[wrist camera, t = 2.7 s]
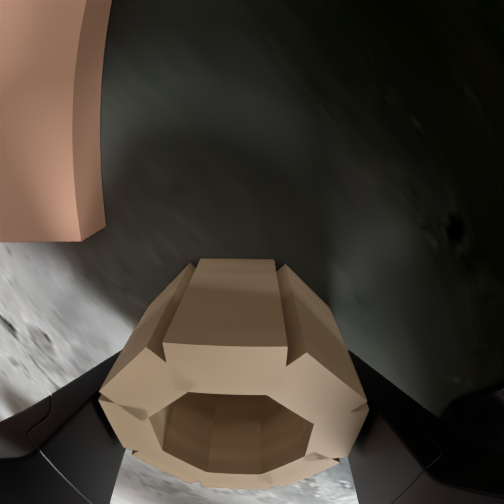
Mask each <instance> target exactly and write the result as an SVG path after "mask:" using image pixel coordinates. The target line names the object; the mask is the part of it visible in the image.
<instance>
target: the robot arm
mask: <svg viewBox="0 0 504 504" xmlns="http://www.w3.org/2000/svg"><path fill="white" fill-rule="evenodd" d="M122 350H123V349H122ZM122 350H121V351H122ZM121 351H119V352H118V353H116V354H114V355H113V356H111V357H110V358H108V359H107V360H105V361H103V362H102V363H100V364H99V365H97V366H96V367H94V368H92V369H91V370H89V371H88V372H86V373H84V374H83V375H81V376H80V377H78V378H77V379H75V380H73V381H72V382H70V383H69V384H67V385H65V386H64V387H62V388H61V389H59V390H57V391H56V392H54V393H53V394H52V396H51V395H49V396H48V397H46V398H45V399H43V400H41V401H40V402H38V403H36V404H34V405H33V406H31V407H29V408H27V409H25V410H23V411H21V412H19V413H17V414H15V415H13V416H11V417H9V418H7V419H5V420H3V421H1V422H0V504H110V500H111V496H112V493H113V489H114V486H115V482H116V479H117V475H118V472H119V469H120V465H121V462H122V459H123V456H124V452H125V449H126V448H124V447H123V446H122V444H121V442H120V440H119V439H118V437H117V435H116V433H115V431H114V430H113V428H112V426H111V424H110V422H109V420H108V418H107V416H106V414H105V412H104V410H103V408H102V406H101V404H100V402H99V398H100V396H101V394H102V393H100V392H99V390H100V389H101V387H102V385H103V383H104V381H105V380H106V378H107V376H108V374H109V372H110V371H111V369H112V367H113V365H114V364H115V362H116V360H117V358H118V357H119V355H120V353H121ZM347 351H348V353H349V355H350V358H351V360H352V363H353V365H354V368H355V370H356V373H357V376H358V378H359V381H360V383H361V386H362V388H363V391H364V394H365V396H366V399H367V405H368V408H369V412H368V414H367V416H366V419H365V421H364V423H363V425H362V428H361V430H360V432H359V434H358V436H357V438H356V440H355V442H354V445H353V447H352V449H351V451H350V453H349V455H348V460H349V464H350V468H351V472H352V476H353V481H354V485H355V489H356V493H357V498H358V502H359V504H504V383H503V384H500V385H498V386H495V387H493V388H490V389H488V390H485V391H482V392H480V393H477V394H474V395H471V396H468V397H465V398H462V399H459V400H457V401H456V402H454V403H453V404H452V405H451V406H450V407H449V409H448V410H447V412H446V414H445V415H444V417H443V418H442V420H441V419H439V418H438V417H436V416H435V415H434V414H432V413H431V412H430V411H428V410H427V409H426V408H423V407H422V406H421V405H420V404H419V403H417V402H416V401H415V400H413V399H412V398H411V397H410V396H408V395H407V394H406V393H404V392H403V391H402V390H400V389H399V388H398V387H396V386H395V385H394V384H393V383H391V382H390V381H389V380H387V379H386V378H385V377H383V376H382V375H381V374H380V373H378V372H377V371H376V370H374V369H373V368H372V367H370V366H369V365H368V364H367V363H365V362H364V361H363V360H361V359H360V358H359V357H358V356H356V355H355V354H354V353H352V352H351V351H349V350H347Z"/></svg>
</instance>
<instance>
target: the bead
mask: <svg viewBox="0 0 504 504" xmlns="http://www.w3.org/2000/svg"><path fill="white" fill-rule="evenodd" d="M99 392H100V393H102V394H101V396H100V398H99V402H100V404H101V406H102V408H103V410H104V412H105V414H106V416H107V418H108V420H109V422H110V424H111V426H112V428H113V430H114V431H115V433H116V435H117V437H118V439H119V440H120V442H121V444H122V446H123V447H124V448H127V449H131V450H133V452H132V455H133V456H135V457H137V458H139V459H140V460H142V461H144V462H146V463H148V464H150V465H152V466H154V467H156V468H158V469H160V470H162V471H164V472H166V473H168V474H170V475H172V476H174V477H176V478H179V479H181V480H183V481H185V482H188V483H190V484H191V483H194V482H198V481H200V484H201V486H202V487H214V488H229V489H270V487H271V484H273V485H276V486H279V487H283V486H286V485H289V484H292V483H294V482H297V481H299V480H302V479H304V478H307V477H309V476H312V475H314V474H316V473H319V472H321V471H323V470H325V469H328V468H330V467H332V466H334V465H336V464H338V463H340V461H339V458H340V457H347V456H348V455H349V453H350V451H351V449H352V447H353V445H354V442H355V440H356V438H357V436H358V434H359V432H360V430H361V428H362V425H363V423H364V421H365V419H366V416H367V414H368V412H369V408H368V405H367V399H366V396H365V394H364V391H363V388H362V386H361V383H360V381H359V378H358V376H357V373H356V370H355V368H354V365H353V363H352V360H351V358H350V355H349V353H348V351H347V348H346V346H345V343H344V341H343V338H342V336H341V334H340V331H339V329H338V326H337V324H336V322H335V319H334V317H333V315H332V312H331V310H330V308H329V307H328V306H327V305H326V304H325V303H324V302H323V301H322V300H321V299H320V298H319V297H318V296H317V295H316V294H315V293H314V292H313V291H312V290H311V289H310V288H309V287H308V286H307V285H306V284H305V283H304V282H303V281H302V280H301V279H300V278H299V277H298V276H297V275H296V274H295V273H294V272H293V271H292V270H291V269H290V268H289V267H288V266H287V265H286V264H284V265H283V266H282V267H281V268H280V269H279V270H278V271H277V272H276V268H275V262H274V259H203V258H201V259H200V261H199V263H198V265H197V268H195V267H194V266H193V265H192V264H191V263H189V264H188V265H187V266H186V267H185V268H184V269H183V270H182V271H181V273H180V274H179V275H178V276H177V277H176V278H175V279H174V280H173V281H172V282H171V283H170V284H169V285H168V286H167V287H166V288H165V289H164V290H163V291H162V292H161V293H160V294H159V295H158V296H157V297H156V299H155V300H154V301H153V302H152V303H151V304H150V305H149V307H148V308H147V310H146V311H145V313H144V315H143V316H142V318H141V320H140V321H139V323H138V324H137V326H136V328H135V329H134V331H133V333H132V334H131V336H130V338H129V340H128V341H127V343H126V345H125V346H124V348H123V350H122V351H121V353H120V355H119V357H118V358H117V360H116V362H115V364H114V365H113V367H112V369H111V371H110V372H109V374H108V376H107V378H106V380H105V381H104V383H103V385H102V387H101V389H100V390H99Z"/></svg>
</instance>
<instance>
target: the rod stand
mask: <svg viewBox="0 0 504 504" xmlns="http://www.w3.org/2000/svg"><path fill="white" fill-rule="evenodd" d="M111 3H112V0H0V242H67V241H83V240H84V239H86V238H87V237H89V236H91V235H92V234H94V233H96V232H97V231H99V230H101V229H102V228H104V227H106V221H105V212H104V201H103V189H102V175H101V152H100V106H101V84H102V70H103V59H104V49H105V41H106V33H107V26H108V20H109V14H110V8H111Z"/></svg>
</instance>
